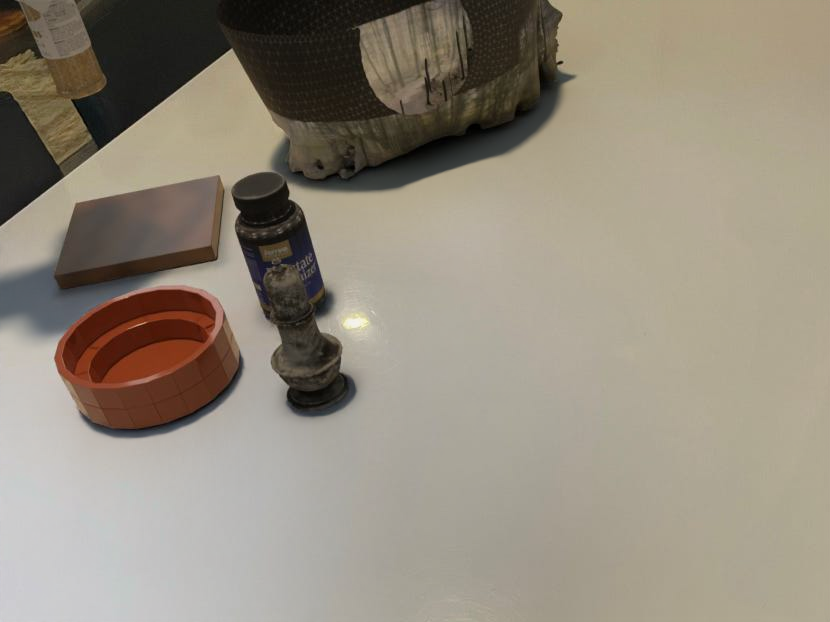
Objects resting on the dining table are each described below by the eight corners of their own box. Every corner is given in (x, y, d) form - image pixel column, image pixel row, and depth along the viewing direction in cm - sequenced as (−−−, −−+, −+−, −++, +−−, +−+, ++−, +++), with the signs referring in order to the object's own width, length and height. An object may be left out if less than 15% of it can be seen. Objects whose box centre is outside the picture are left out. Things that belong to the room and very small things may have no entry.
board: (60, 289, 96) (53, 276, 95) (81, 216, 105) (75, 202, 104) (216, 259, 95) (211, 245, 94) (224, 188, 105) (219, 174, 104)
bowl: (67, 446, 80) (41, 402, 76) (91, 346, 89) (68, 302, 85) (237, 414, 79) (218, 369, 76) (243, 317, 88) (227, 272, 85)
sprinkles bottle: (53, 90, 87) (-26, -88, 77) (101, 74, 88) (29, -105, 78) (66, 106, 84) (-14, -77, 74) (115, 89, 86) (43, -94, 75)
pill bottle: (284, 330, 86) (244, 211, 77) (250, 305, 89) (208, 189, 81) (340, 299, 88) (307, 180, 79) (304, 276, 91) (269, 159, 83)
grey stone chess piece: (274, 385, 81) (226, 253, 72) (339, 360, 82) (299, 226, 73) (295, 422, 77) (248, 288, 68) (362, 396, 78) (324, 260, 69)
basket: (588, 155, 98) (579, -28, 86) (254, 210, 101) (198, 40, 88) (558, 47, 116) (547, -118, 103) (275, 96, 118) (231, -60, 106)
